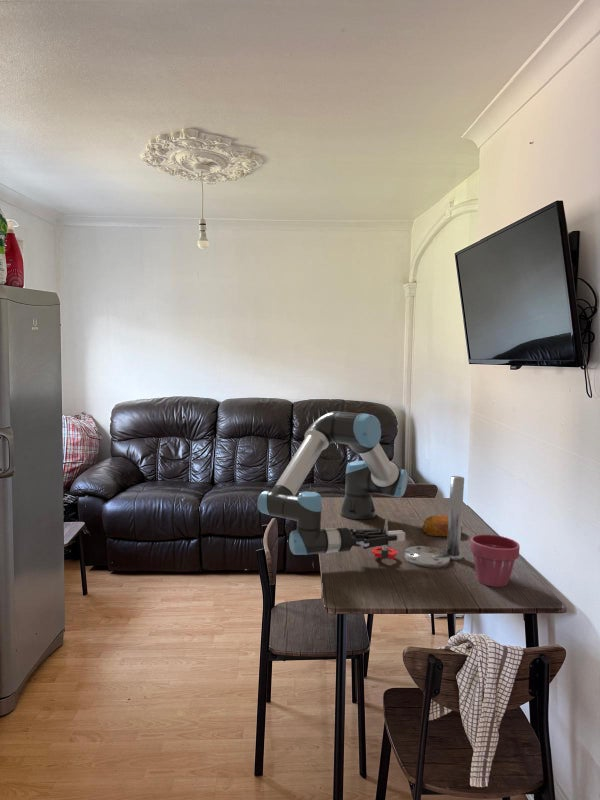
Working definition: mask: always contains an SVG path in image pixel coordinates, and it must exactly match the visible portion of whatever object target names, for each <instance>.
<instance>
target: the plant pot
mask: <svg viewBox="0 0 600 800" xmlns="http://www.w3.org/2000/svg"><path fill="white" fill-rule="evenodd" d="M520 546H521V545H520V544H519V542H518V541H515V540H514V539H512V538H509V537H504V536H503V535H502V536H501V535H495V534H485V533H484V534H477V535H476V534H475V535H473V536H472V537H471V538H470V547H469V548H470V549H469V550H470V552H471V553H473V561H474V568H475V569H474V570H475V572H476V579H477V581H478V582H479V583H480V584H483V585H485V586H489V587H492V588H493V587H494V588H503V587H506V586H508V584H509V580H510V577H511V575H512V572H513V569H514V566H515V562H516V560H518V558H519V557H520Z"/></svg>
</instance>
